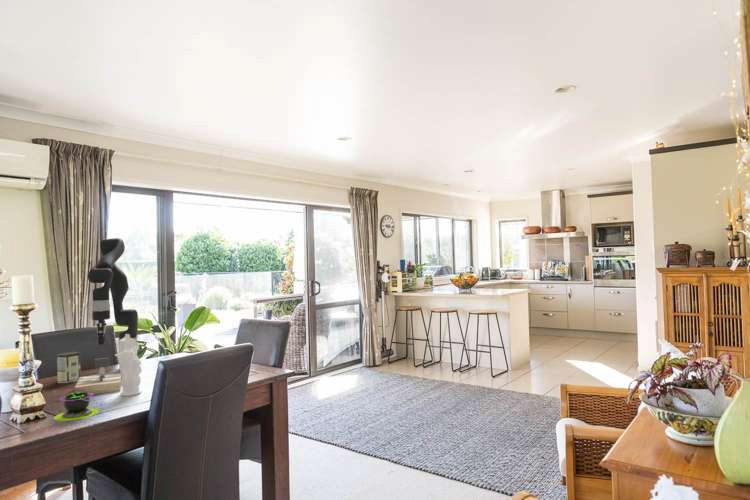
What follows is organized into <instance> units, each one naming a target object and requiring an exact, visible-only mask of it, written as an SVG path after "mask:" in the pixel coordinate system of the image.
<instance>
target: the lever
mask: <svg viewBox="0 0 750 500" xmlns="http://www.w3.org/2000/svg"><path fill="white" fill-rule="evenodd" d="M106 367H110V357H101V358H100V357H99V358H95V359H94V368H95V369H97V368H98V371H99V372H98V373H99V374H98V375H99V378H100V380H102V379H103V378H104V377H105V374H106Z"/></svg>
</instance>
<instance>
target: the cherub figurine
mask: <svg viewBox="0 0 750 500" xmlns="http://www.w3.org/2000/svg"><path fill="white" fill-rule="evenodd" d="M139 349H140V344H139V343H138V342H137V345H136V346H134V347H132V348H131V349H130V350H124V351H123V352H121V353H119V352H118V353H116V354H114V356H115V357H117V358H118V359H119V358H121V361H122V363H123V368H122V375H123V377H121V391H120V393H119V394H120V396H121V397H133V396H137V395H140V394H142V390H141V389H140V384H141V376H140V374H141V373H142V367H141V365H142V360H140V358H139V357H138V355H137V356H136V355H135V354H136V353H137V354H138V350H139Z"/></svg>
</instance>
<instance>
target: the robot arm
mask: <svg viewBox="0 0 750 500" xmlns="http://www.w3.org/2000/svg"><path fill="white" fill-rule="evenodd" d="M99 247H100V253H101V257H100V259H99V260H98V262H97V264H96V265H94V266H93V267H92V268H90V269H89V271H88V273H87V279H88V281H89V282H90V283H91V284H103V285H102V286H100V287H96V288H94V289H93V290H92V305H91V307H92V308H91V309H92V310H91V312H92V313H91V314H92V315H91V316H92V317H91V319H92V321H98V322H97V323H96V325H95V326H96V333H97V334H96V335H97V337H98V338H97V341H98V344H97V345H99V346H101V345H104V343H105V342H106V340H105V339H106V338H105V337H106V336H105V334H106V330H107V322H106V320H110V319H111V302H110V296H111V298H112V299H111V300H112V305H113V315H114V321H115V324H116V325H117V327H118V326H120V327H127V326H128V327H127V329H126V330H124V331H122V332H119V333H118V354H119V353H120V340H121V339H123V338H124V337H125V334H129V335H130V338H132V339H135V340H136V345H137V343H138V330H139V329H138V327H139V326H138V325H139V314H138V312H137V310H136V309H134V308H133V309H132V308H131V309H130V308H129V309H124V306H123V303H124V299H125V297H126V295H127V293H128V291H129V281H128V276H127V275H126V274H125V273H124V271H123V270H121V268H120V267H119V266H117V264H116V262H117V261H118V260H119V259H120V258H121V256H122V255H123V254H124V253H125V242H124V240H123V239H122V238H119V237H118V238H117V237H116V238H106V239H105V238H103V239H102V240H100V244H99ZM110 294H111V295H110ZM136 356H137V357H138V352H137V353H136ZM118 364H119V365H118V366H119V368H118V369H119V370H120V358H119V357H118Z"/></svg>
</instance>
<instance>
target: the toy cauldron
mask: <svg viewBox="0 0 750 500" xmlns="http://www.w3.org/2000/svg"><path fill="white" fill-rule="evenodd" d="M76 388H77V387H76ZM79 389H80V388H79ZM86 389H87V390H88V388H86ZM68 391H72V389H69V390H67V391H65V392H64V394H67V392H68ZM83 392H84V391H83ZM88 394H90V393H79V392H78V393H75V392H71V393H70V392H69V393H68V394H67V395H65V396H61V397H60V398H59V401H60V402H61V401H63V407H64V410H65V411H64V412H61V413H59V414H56V415H55V416H54V418H53V420H55V421H58V422H70V421H77V420H83V419H87V418H90V417H93V416H95V415H97V414H99V413H100V410H99V408H89V405H90V401H91V399H90V397H93V396H94V395H95V394H90V395H88Z"/></svg>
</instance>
